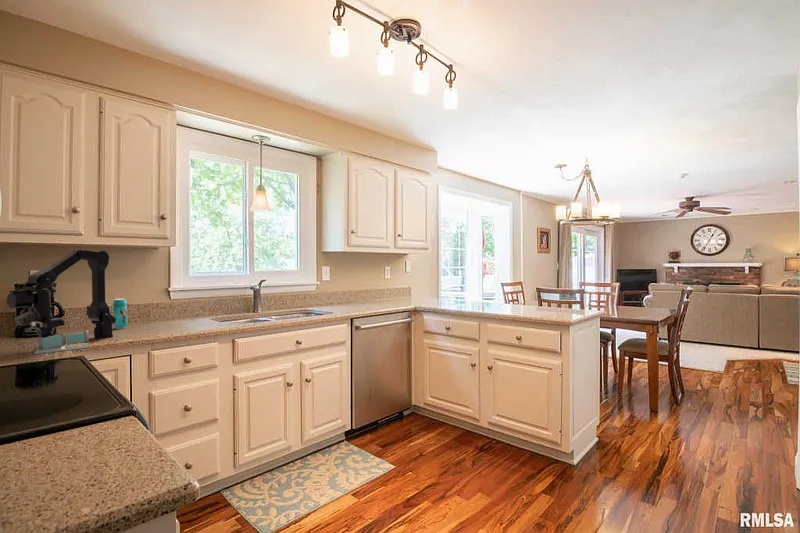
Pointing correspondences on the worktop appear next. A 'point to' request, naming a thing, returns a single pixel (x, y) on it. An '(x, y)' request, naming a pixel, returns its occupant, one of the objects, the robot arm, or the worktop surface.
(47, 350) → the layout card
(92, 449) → the worktop surface
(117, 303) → the beverage can
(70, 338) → the fence fixed
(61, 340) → the fence gate
